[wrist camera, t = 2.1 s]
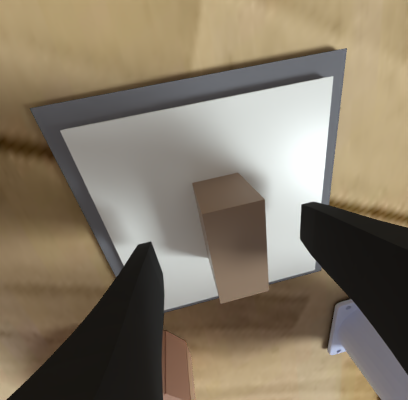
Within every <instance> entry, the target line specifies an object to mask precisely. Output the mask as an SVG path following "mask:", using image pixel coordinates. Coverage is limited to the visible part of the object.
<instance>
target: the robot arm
mask: <svg viewBox="0 0 408 400" xmlns="http://www.w3.org/2000/svg"><path fill="white" fill-rule="evenodd" d="M300 240H301V241H302V243H303V244H304V246H305V247H306V249H307V250H308V252H309V253H310V254H311V256H312V257H313V258H314V259H315V260H316V261H317V262H318V264H319V265H320V266H321V267H322V268H323V269H324V270H325V271H326V272H327V273H328V274H329V275H330V277H331V278H332V279H333V280H334V281H335V282H336V283H337V284H338V285H339V286H340V287H341V288H342V289H343V291H344V292H345V293H346V294H347V295H348V296H349V297H350V298H351V299H349V300H346V301H342V302H339V303H338V304H336V306H335V310H334V316H333V322H332V327H331V333H330V339H329V344H328V352H329V354H330V355H335V354H338V353H341V352H345V351H346V352H347V353H348V354H349V356H350V357H351V359H352V360H353V361H354V363H355V364H356V365H357V367H358V368H359V370H360V371H361V372H362V374H363V375H364V377H365V378H366V379H367V381H368V382H369V384H370V385H371V386H372V388H373V389H374V391H375V392H376V393H377V395H378V396H379V397H380V399H381V400H408V228H407V227H403V226H399V225H395V224H391V223H387V222H383V221H380V220H376V219H372V218H369V217H366V216H362V215H359V214H356V213H352V212H349V211H346V210H342V209H339V208H336V207H333V206H329V205H326V204H322V203H318V202H309V203H305V204H301V222H300ZM164 297H165V294H164V279H163V272H162V269H161V267H160V264H159V261H158V258H157V256H156V253H155V250H154V248H153V245H152V242H151V241H150V242H146V243H142V244H138V245H137V247H136V248H135V250H134V251H133V253H132V254H131V256H130V257H129V259H128V260H127V262H126V264H125V265H124V267H123V268H122V270H121V271H120V273H119V274H118V276H117V277H116V279H115V280H114V282H113V283H112V285H111V286H110V287H109V289H108V290H107V291H106V293H105V294H104V295H103V297H102V298H101V299H100V301H99V302H98V304H97V305H96V306H95V307H94V309H93V310H92V311H91V312H90V314H89V315H88V316H87V317H86V318H85V319H84V321H83V322H82V323H81V324H80V325H79V326H78V328H77V329H76V330H75V331H74V332H73V333H72V334H71V336H70V337H69V338H68V339H67V340H66V341H65V342H64V343H63V344H62V345H61V346H60V347H59V348H58V349H57V350H56V351H55V352H54V354H53V355H52V356H51V357H50V358H49V359H48V360H47V361H46V362H45V363H44V364H43V365H42V366H41V367H40V368H39V369H38V370H37V371H36V372H35V373H34V374H33V375H32V376H31V377H30V378H29V379H28V380H27V381H26V382H25V383H24V384H23V385H22V386H21V387H20V388H19V389H18V390H16V391H15V392H14V393H13V394H12V395H11V396H10V397H9V398H8V399H7V400H163V384H162V338H163V319H164Z"/></svg>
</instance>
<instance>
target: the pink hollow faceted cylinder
mask: <svg viewBox="0 0 408 400" xmlns="http://www.w3.org/2000/svg"><path fill="white" fill-rule="evenodd" d="M162 384H163V400H196V397H195V387H194V378H193V368H192V358H191V354H190V351H189V349H188V346H187V343H186V342H185V341H184V340H183V339H181V338H179V337H177V336H175V335H173V334H171V333H169V332H167V331H165V330H163V338H162Z"/></svg>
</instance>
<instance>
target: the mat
mask: <svg viewBox="0 0 408 400" xmlns="http://www.w3.org/2000/svg"><path fill="white" fill-rule="evenodd" d="M346 52H347V48H345V49H340V50H335V51H330V52H324V53H319V54H314V55H309V56H303V57H298V58H293V59H288V60H282V61H277V62H272V63H266V64H261V65H256V66H251V67H245V68H240V69H235V70H230V71H224V72H219V73H214V74H208V75H203V76H198V77H193V78H187V79H182V80H177V81H172V82H166V83H161V84H156V85H150V86H145V87H140V88H135V89H129V90H124V91H119V92H114V93H108V94H103V95H98V96H93V97H87V98H82V99H77V100H71V101H66V102H61V103H56V104H50V105H45V106H40V107H35V108H30V110H31V112H32V114H33V116H34V118H35V120H36V122H37V124H38V126H39V128H40V130H41V132H42V134H43V136H44V138H45V139H46V141H47V143H48V145H49V147H50V149H51V151H52V153H53V155H54V157H55V159H56V161H57V163H58V165H59V167H60V169H61V171H62V173H63V175H64V177H65V179H66V180H67V182H68V184H69V186H70V188H71V190H72V192H73V194H74V196H75V198H76V200H77V202H78V204H79V206H80V208H81V210H82V212H83V214H84V216H85V218H86V220H87V221H88V223H89V225H90V227H91V229H92V231H93V233H94V235H95V237H96V239H97V241H98V243H99V245H100V247H101V249H102V251H103V253H104V255H105V257H106V259H107V261H108V262H109V264H110V266H111V268H112V270H113V272H114V274H115V276H116V277H117V276H118V274H119V273H120V271H121V270H122V268H123V267H124V265H123V263H122V261H121V259H120V257H119V255H118V253H117V250H116V248H115V246H114V244H113V242H112V240H111V238H110V236H109V234H108V231H107V229H106V227H105V225H104V223H103V221H102V219H101V217H100V214H99V212H98V210H97V208H96V206H95V204H94V202H93V200H92V198H91V195H90V193H89V191H88V189H87V187H86V185H85V183H84V181H83V178H82V176H81V174H80V172H79V170H78V168H77V166H76V164H75V162H74V159H73V157H72V155H71V153H70V151H69V149H68V147H67V145H66V142H65V140H64V138H63V136H62V134H61V132H60V130H64V129H67V128H72V127H78V126H83V125H88V124H93V123H98V122H103V121H108V120H113V119H118V118H123V117H128V116H133V115H138V114H143V113H148V112H153V111H158V110H163V109H168V108H173V107H178V106H183V105H188V104H193V103H198V102H203V101H208V100H213V99H218V98H223V97H228V96H233V95H238V94H243V93H249V92H254V91H259V90H264V89H269V88H274V87H279V86H284V85H289V84H294V83H299V82H304V81H309V80H314V79H319V78H324V77H331V76H333V87H332V97H331V107H330V118H329V128H328V139H327V149H326V159H325V170H324V180H323V191H322V201H321V203H322V204H326V205H329V199H330V190H331V181H332V173H333V164H334V155H335V147H336V138H337V129H338V121H339V112H340V103H341V95H342V86H343V78H344V69H345V60H346ZM321 268H322V267H321V266H320V265H319V264H318V262H317V261H316V263H315V270H313V271H309V272H306V273H302V274H298V275H294V276H291V277H287V278H283V279H280V280H276V281H272V282H269V284H273V283H277V282H280V281H284V280H288V279H292V278H295V277H299V276H303V275H306V274H310V273H314V272H318V271H321ZM217 298H219V296H216V297H212V298H209V299H205V300H201V301H197V302H194V303H190V304H186V305H183V306H179V307H175V308H171V309H168V310H164V313H165V312H169V311H172V310H176V309H180V308H184V307H187V306H191V305H195V304H199V303H202V302H206V301H210V300H213V299H217Z"/></svg>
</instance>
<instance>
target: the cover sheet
mask: <svg viewBox="0 0 408 400" xmlns="http://www.w3.org/2000/svg"><path fill="white" fill-rule="evenodd" d="M332 87H333V76H331V77H324V78H319V79H314V80H309V81H304V82H299V83H294V84H289V85H284V86H279V87H274V88H269V89H264V90H259V91H254V92H249V93H243V94H238V95H233V96H228V97H223V98H218V99H213V100H208V101H203V102H198V103H193V104H188V105H183V106H178V107H173V108H168V109H163V110H158V111H153V112H148V113H143V114H138V115H133V116H128V117H123V118H118V119H113V120H108V121H103V122H98V123H93V124H88V125H83V126H78V127H72V128H67V129H64V130H60V132H61V134H62V136H63V138H64V140H65V142H66V145H67V147H68V149H69V151H70V153H71V155H72V157H73V159H74V162H75V164H76V166H77V168H78V170H79V172H80V174H81V176H82V178H83V181H84V183H85V185H86V187H87V189H88V191H89V193H90V195H91V198H92V200H93V202H94V204H95V206H96V208H97V210H98V212H99V214H100V217H101V219H102V221H103V223H104V225H105V227H106V229H107V231H108V234H109V236H110V238H111V240H112V242H113V244H114V246H115V248H116V250H117V253H118V255H119V257H120V259H121V261H122V263H123V265H125V264H126V262H127V260H128V259H129V257H130V256H131V254H132V253H133V251H134V250H135V248H136V247H137V245H138V244H142V243H146V242H150V241H151V242H152V245H153V248H154V250H155V253H156V256H157V258H158V261H159V264H160V267H161V269H162V272H163V279H164V294H165V297H164V310H168V309H171V308H175V307H179V306H183V305H186V304H190V303H194V302H197V301H201V300H205V299H209V298H212V297H216V296H219V300H220V303H221V304H222V303H226V302H229V301H233V300H237V299H241V298H244V297H248V296H252V295H255V294H259V293H263V292H266V291H269V282H272V281H276V280H280V279H283V278H287V277H291V276H294V275H298V274H302V273H306V272H309V271H313V270H315V263H316V260H315V259H314V258H313V257H312V256H311V254H310V253H309V252H308V250H307V249H306V247H305V246H304V244H303V243H302V241H301V240H300V222H301V204H305V203H309V202H318V203H321V201H322V191H323V180H324V170H325V159H326V149H327V139H328V128H329V118H330V107H331V97H332Z"/></svg>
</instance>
